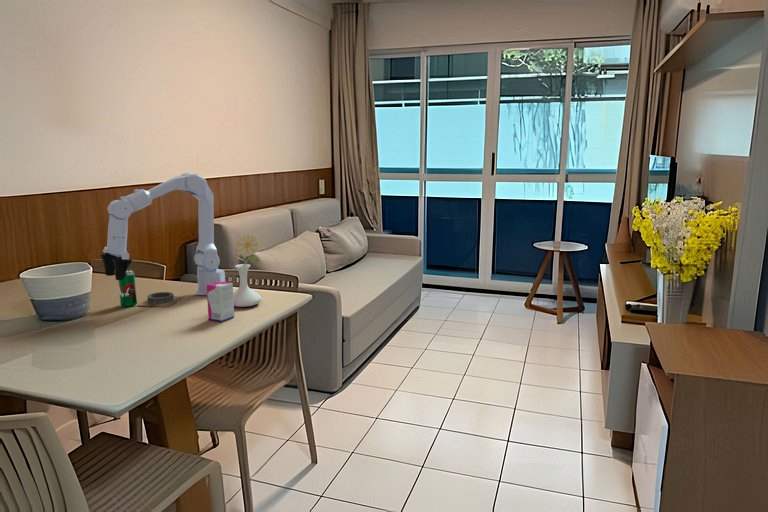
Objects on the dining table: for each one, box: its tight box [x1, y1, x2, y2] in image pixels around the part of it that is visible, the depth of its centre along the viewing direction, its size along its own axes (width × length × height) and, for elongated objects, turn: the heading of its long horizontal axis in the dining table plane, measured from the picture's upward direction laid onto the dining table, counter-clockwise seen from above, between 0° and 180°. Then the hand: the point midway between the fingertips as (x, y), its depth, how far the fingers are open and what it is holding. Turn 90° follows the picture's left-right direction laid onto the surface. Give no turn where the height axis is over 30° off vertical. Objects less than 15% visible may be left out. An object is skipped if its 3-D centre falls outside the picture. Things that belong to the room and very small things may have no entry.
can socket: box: [137, 291, 184, 308], centre depth 183 cm, size 11×11×2 cm
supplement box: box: [206, 281, 235, 323], centre depth 165 cm, size 6×6×12 cm
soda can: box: [117, 269, 138, 308], centre depth 177 cm, size 5×5×12 cm
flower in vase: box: [233, 233, 262, 308], centre depth 178 cm, size 13×11×25 cm
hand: (114, 277), depth 174 cm, fingers open, 7 cm apart
